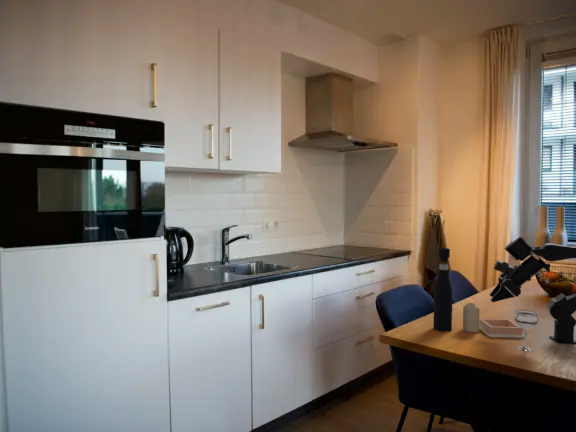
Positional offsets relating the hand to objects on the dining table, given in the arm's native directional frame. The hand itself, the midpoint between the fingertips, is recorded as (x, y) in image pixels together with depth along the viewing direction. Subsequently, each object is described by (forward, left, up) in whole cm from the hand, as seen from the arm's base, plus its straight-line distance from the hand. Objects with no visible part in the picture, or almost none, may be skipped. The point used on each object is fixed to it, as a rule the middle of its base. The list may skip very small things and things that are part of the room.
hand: (490, 298), depth 160 cm
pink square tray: (+1, -4, -12) cm, 13 cm away
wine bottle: (+3, +16, -13) cm, 21 cm away
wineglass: (-17, -5, -13) cm, 22 cm away
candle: (+2, +6, -13) cm, 14 cm away
